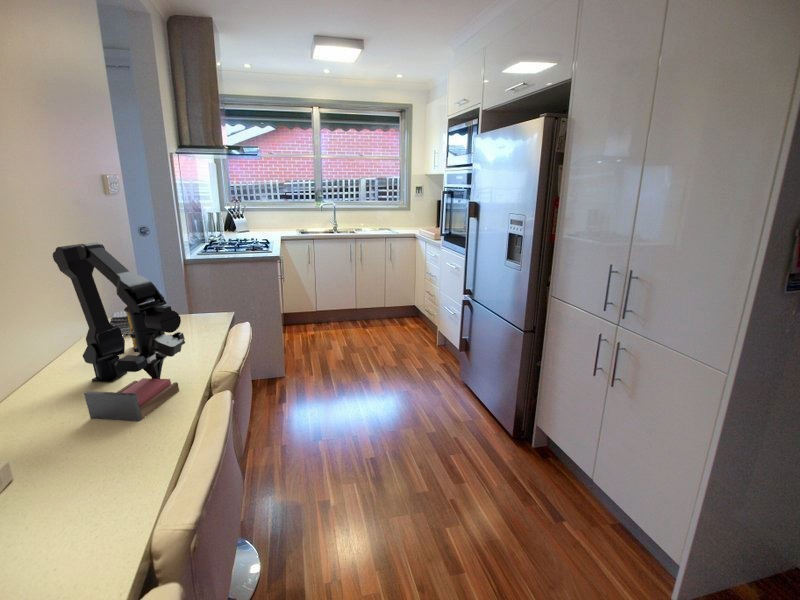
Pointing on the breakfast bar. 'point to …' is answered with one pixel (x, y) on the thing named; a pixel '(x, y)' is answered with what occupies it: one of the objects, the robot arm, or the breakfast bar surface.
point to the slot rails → (155, 398)
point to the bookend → (113, 406)
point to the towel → (121, 322)
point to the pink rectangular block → (147, 389)
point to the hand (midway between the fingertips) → (157, 380)
